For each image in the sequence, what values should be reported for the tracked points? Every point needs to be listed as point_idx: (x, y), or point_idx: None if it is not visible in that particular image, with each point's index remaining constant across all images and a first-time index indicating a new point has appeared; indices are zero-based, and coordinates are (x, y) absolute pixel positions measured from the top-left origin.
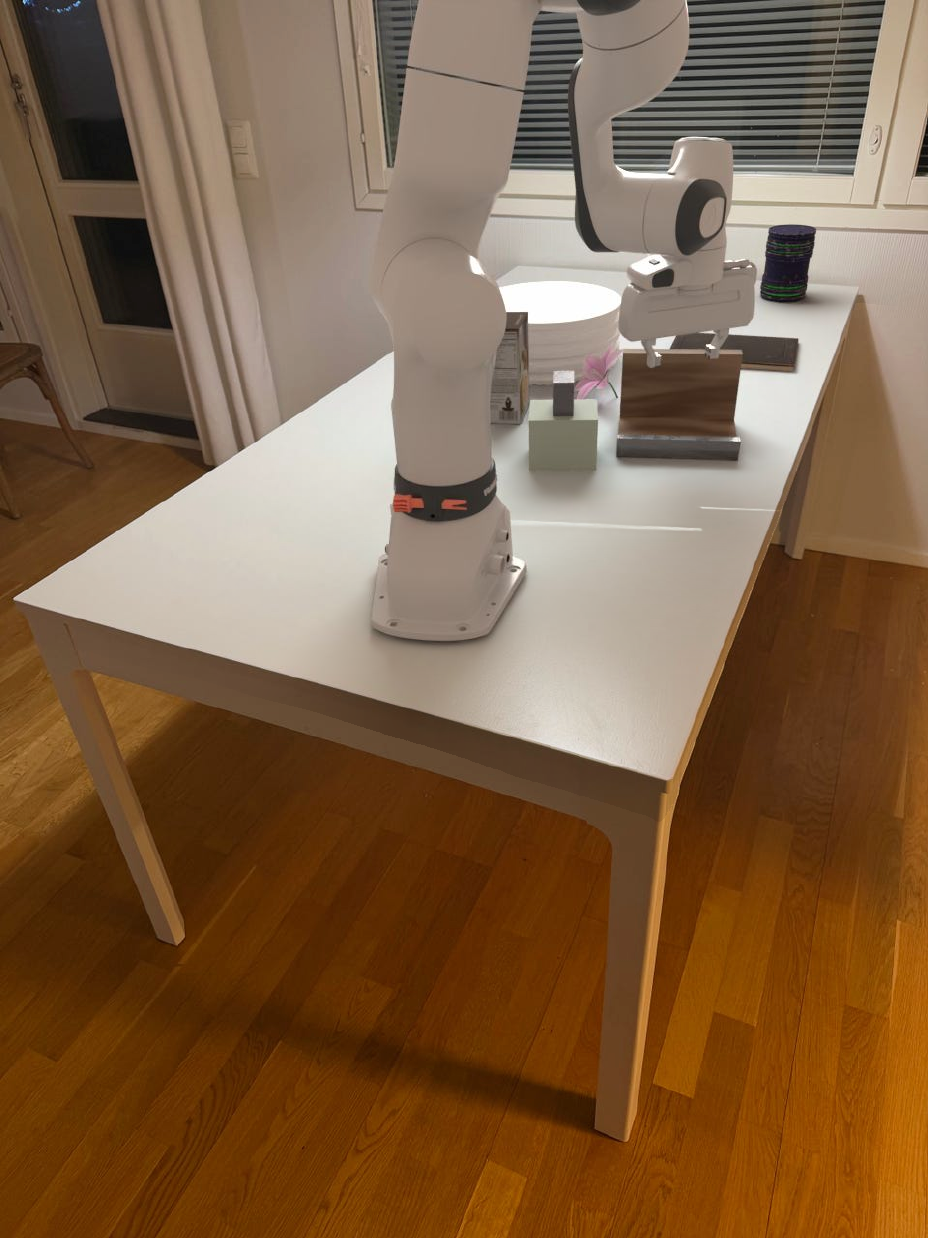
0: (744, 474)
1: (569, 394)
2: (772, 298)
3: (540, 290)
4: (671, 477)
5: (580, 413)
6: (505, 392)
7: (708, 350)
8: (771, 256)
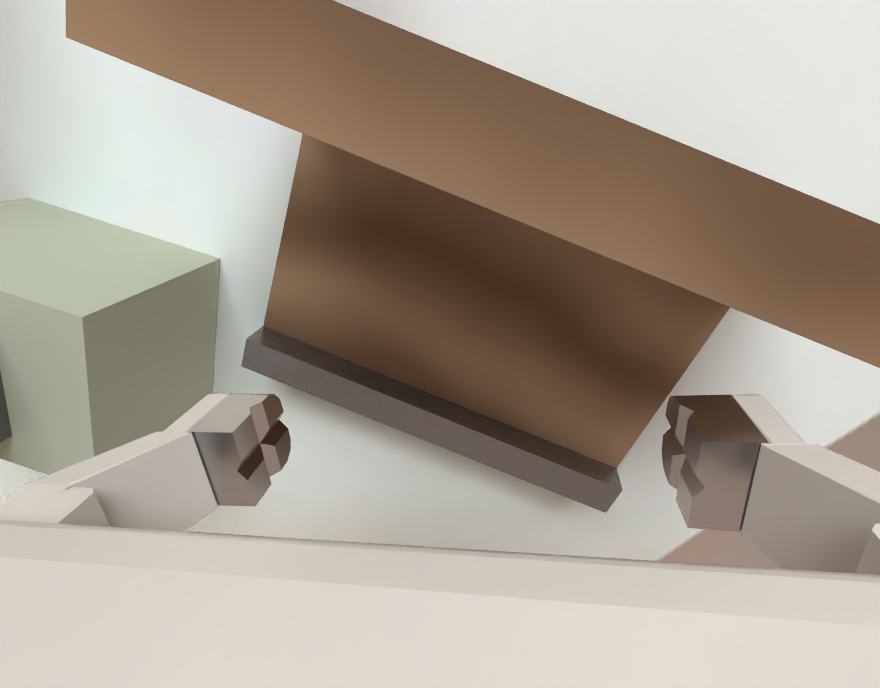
0: (565, 532)
1: None
2: None
3: None
4: (385, 486)
5: (33, 423)
6: None
7: (689, 465)
8: None
